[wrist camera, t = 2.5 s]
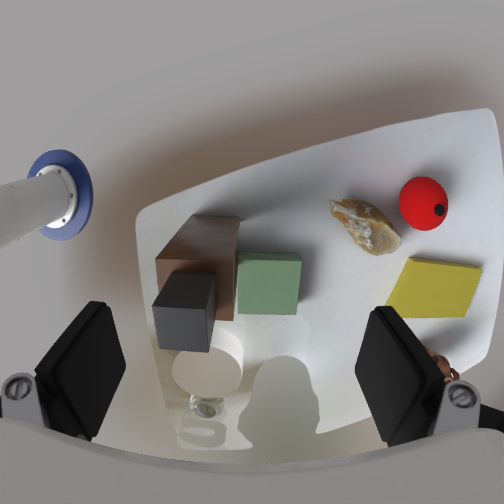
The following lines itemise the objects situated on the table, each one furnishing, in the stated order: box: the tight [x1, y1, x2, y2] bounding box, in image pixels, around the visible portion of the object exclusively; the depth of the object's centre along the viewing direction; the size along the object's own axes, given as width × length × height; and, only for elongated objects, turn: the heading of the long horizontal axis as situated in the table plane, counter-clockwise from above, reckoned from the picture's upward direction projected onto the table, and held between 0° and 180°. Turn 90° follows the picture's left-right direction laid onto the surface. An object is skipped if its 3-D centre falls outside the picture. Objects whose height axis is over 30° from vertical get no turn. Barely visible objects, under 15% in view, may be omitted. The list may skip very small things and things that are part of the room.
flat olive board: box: [385, 257, 482, 318], centre depth 50 cm, size 12×2×24 cm
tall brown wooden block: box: [155, 216, 240, 321], centre depth 38 cm, size 8×7×19 cm
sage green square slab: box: [238, 252, 302, 315], centre depth 48 cm, size 10×10×4 cm
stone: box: [330, 198, 402, 256], centre depth 43 cm, size 7×6×15 cm
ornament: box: [399, 177, 448, 231], centre depth 40 cm, size 9×9×10 cm
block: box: [152, 271, 217, 353], centre depth 26 cm, size 4×4×7 cm
